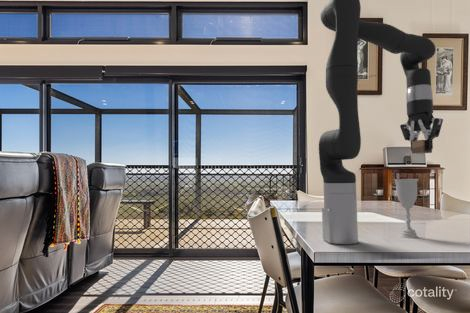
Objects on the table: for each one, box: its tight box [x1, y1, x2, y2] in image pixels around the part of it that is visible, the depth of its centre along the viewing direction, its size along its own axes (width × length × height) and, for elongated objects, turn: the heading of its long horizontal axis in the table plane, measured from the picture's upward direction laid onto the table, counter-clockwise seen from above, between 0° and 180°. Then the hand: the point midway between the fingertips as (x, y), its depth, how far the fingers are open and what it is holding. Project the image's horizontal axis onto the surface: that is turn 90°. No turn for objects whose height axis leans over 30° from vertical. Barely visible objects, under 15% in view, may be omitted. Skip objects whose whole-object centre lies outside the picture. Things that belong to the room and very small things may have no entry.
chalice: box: [394, 178, 419, 239], centre depth 98 cm, size 7×7×18 cm
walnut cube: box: [411, 139, 433, 155], centre depth 102 cm, size 4×4×4 cm
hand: (421, 151), depth 102 cm, fingers closed on walnut cube, 4 cm apart
